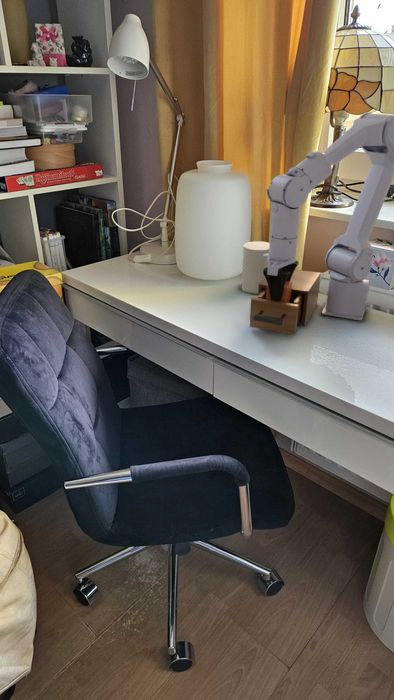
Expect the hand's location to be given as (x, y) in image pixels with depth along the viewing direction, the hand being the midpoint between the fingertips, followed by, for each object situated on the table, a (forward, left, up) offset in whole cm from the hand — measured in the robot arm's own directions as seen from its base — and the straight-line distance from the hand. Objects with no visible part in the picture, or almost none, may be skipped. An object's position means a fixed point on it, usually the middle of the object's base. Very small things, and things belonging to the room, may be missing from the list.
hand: (278, 296), depth 107 cm
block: (0, 0, -1) cm, 1 cm away
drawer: (0, 0, -7) cm, 7 cm away
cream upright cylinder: (+12, -22, -8) cm, 26 cm away
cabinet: (0, -10, -8) cm, 13 cm away
